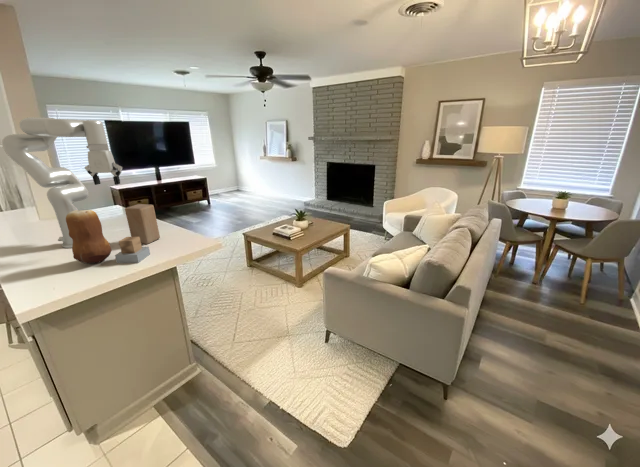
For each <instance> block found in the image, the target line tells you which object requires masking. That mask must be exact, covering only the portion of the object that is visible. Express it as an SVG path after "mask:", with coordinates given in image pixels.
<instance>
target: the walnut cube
mask: <svg viewBox="0 0 640 467" xmlns="http://www.w3.org/2000/svg"><path fill="white" fill-rule="evenodd" d="M118 244H119V247H120V248H119V249H120V252H122V253H136V252H137V251H139V250H140V249H142V247H143V246H142V244H141V241H140V237H131V236H126V237H124V238H122V239H120V240H119V241H118Z"/></svg>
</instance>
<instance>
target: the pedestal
mask: <svg viewBox="0 0 640 467" xmlns="http://www.w3.org/2000/svg"><path fill="white" fill-rule="evenodd" d="M150 255H151V252H150V247H149V246H142V249H140V250H139V251H137V252H136V253H122V252H121V251H119V252H117V253H116V254H115V255H114V257H115V261H116V263H117V264H132V263H133V264H138V263H140V262H142V261H143V260H144V259H145V258H147V257H148V256H150Z"/></svg>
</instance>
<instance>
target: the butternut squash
mask: <svg viewBox="0 0 640 467" xmlns="http://www.w3.org/2000/svg"><path fill="white" fill-rule="evenodd" d="M100 220H101V219H100V218H99V215H98V213H97V212H96V211H95V210H92V209H84V210H83V209H81V210H79V209H78V210H75V211H72V212H69V213H68V214H67V216H66V223H67V227H68V230H69V236H70V237H71V238H72V240H73V245H72V248H71V250H72V255H73V259H74V260H76V261H78V262H80V263H82V264H100V263H101V262H102V261H103V262H104V261H105V260H106V259H107V258H108V257H109V256H110V255H111V252H112V247H111V245H110V242H109V240H107V238H105V236H104V234H103V224H102V223H101V221H100ZM103 262H102V263H103Z"/></svg>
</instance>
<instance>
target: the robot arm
mask: <svg viewBox="0 0 640 467" xmlns="http://www.w3.org/2000/svg"><path fill="white" fill-rule="evenodd" d="M18 125H19V128H20V130H21V131H22V132H24V133H18V134H17V133H15V134H9V135H6V136H4V137H3V138H2V141H1V145H2V148H3V151H4V153H6V155H7V156H8V158H10V160H12V161H13V162H14V163H15V164H17V165H19V167H21V168H22V169H23V170H24V171H25V172H26V174H28V175H29V176H30V177H31V178H32V179H33V180H34V181H35V182H36V183H37V184H38V185H39V187H42V188H46V189H48V190H47V192H46V197H47V199H48V201H49V203H50V205H51V206H52V208H53V211H54V213H55V216H56V219H57V221H58V222H57V223H58V225H59V229H60V231H61V235H62V236H59V237H58V239H57V241H58V242H62V243H61V247H62V248H65V249H69V248H70V249H72V245H73V240H72V238H71V237H70V236H69V230H68V227H67V223H66V216H67V214H68V213H69V212H72V211H75V210H79V209H78V208H77V207H76V206H75V205H74V204H73V203H79V202H82V201H85V200H87V198H88V197H89V193H90V192H89V190H88V188H87V187H86V186H85V184H83V182H82V181H81V180H80V178H78V177H77V176H76V175H75V174H74V173H73V172H72V171H71V170H70V169H68V168H67V167H64V166H63V167H62V166H61V167H60V166H59V167H58V166H56V167H49V166H48V165H47V164H46V163H45V162H44V161H43V160H42V159H41V158H39V157H37V156H36V155H34V154H32V153H34V152H35V153H36V152H46V151H48V150H49V149H51V147H52V145H53V144H54V143H55V141H56V140H57V138H59V137H60V138H76V137H77V138H86V142H87V145H86V149H88V150H89V151H87V162H88V164H87V165H86V166H85V167H84V169H85V171H86V172H87V174H89V175H90V177H92V179H93V183H94V185H95V186H97V185H98V186H99V185H100V184H101V179H100V176H99V174H108V173H109V174H110V173H111V175H113V176H112V179H113V182H114V185H117V186H118V185H120V184H121V180H120V176H121V174H122V171H123V166H121V165H119V164H118V163H116V161H115V159H114V155H113V153H112V151H111V150H110V148H109V145H108V140H107V136H106V132H105V128H104V124H103V122H102V121H101V120H97V119H71V118H70V119H69V118H67V119H66V118H65V119H64V118H53V117H33V116H32V117H31V116H29V117H25V118H23V119H21V120H20V122H19V124H18Z"/></svg>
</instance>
